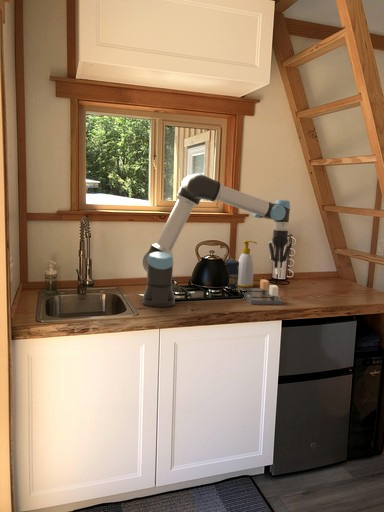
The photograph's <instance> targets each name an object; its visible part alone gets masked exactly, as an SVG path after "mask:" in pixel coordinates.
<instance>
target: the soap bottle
mask: <svg viewBox="0 0 384 512" xmlns="http://www.w3.org/2000/svg"><path fill="white" fill-rule="evenodd" d="M242 243H243V244H244V247H242V253H241V254H240V255H239V258H238V260H237V261H238V262H239V276H238V287H239V288H252V287H253V286H254V266H253V265H254V263H253V258H252V255H251V248H249V243H253V244H256V245H257V244H258V242H256V241H253V240H243V241H242Z"/></svg>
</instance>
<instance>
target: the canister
mask: <svg viewBox="0 0 384 512" xmlns="http://www.w3.org/2000/svg"><path fill="white" fill-rule="evenodd" d="M224 260H225V264H226V266H227V270H228V275H229V284H230V285H229V287H228V288H227V289H234V288H239V286H238V276H239V262H238V261H239V260H236V259H234V258H227V259H224Z"/></svg>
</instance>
